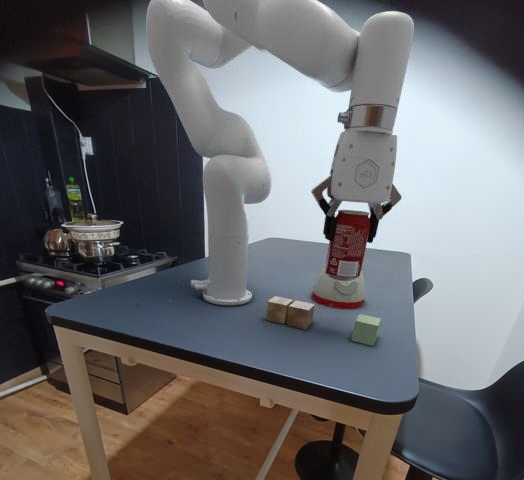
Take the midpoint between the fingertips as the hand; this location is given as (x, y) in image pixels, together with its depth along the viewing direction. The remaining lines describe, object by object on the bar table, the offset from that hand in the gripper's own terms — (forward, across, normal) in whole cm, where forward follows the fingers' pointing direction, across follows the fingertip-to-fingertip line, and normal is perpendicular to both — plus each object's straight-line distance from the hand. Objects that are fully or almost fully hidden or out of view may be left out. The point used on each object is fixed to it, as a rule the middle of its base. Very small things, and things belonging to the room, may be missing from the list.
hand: (348, 239), depth 59 cm
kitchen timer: (+19, +8, +21) cm, 29 cm away
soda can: (+7, 0, 0) cm, 7 cm away
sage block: (+19, +6, -4) cm, 20 cm away
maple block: (+19, -11, +6) cm, 22 cm away
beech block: (+19, -6, +3) cm, 20 cm away
